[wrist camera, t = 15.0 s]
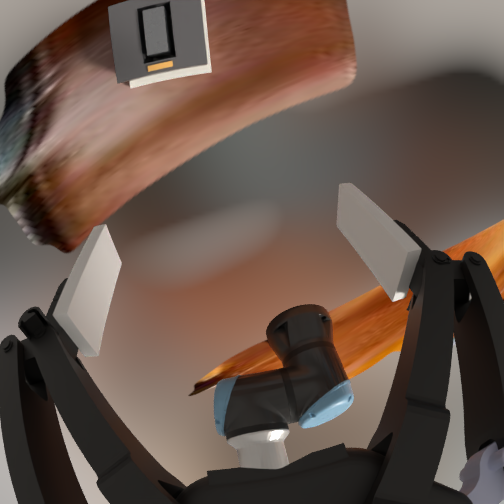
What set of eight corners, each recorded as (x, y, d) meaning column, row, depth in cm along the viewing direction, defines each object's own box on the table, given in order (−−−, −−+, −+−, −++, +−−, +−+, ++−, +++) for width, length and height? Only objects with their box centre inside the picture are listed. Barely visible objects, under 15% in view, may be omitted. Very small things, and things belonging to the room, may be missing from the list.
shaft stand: (211, 72, 29) (214, 72, 22) (133, 87, 29) (112, 94, 21) (203, -4, 23) (205, -26, 15) (123, 13, 22) (100, -2, 14)
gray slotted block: (199, 1, 22) (199, -16, 16) (206, 65, 28) (207, 63, 22) (124, 17, 21) (107, 6, 16) (132, 80, 27) (116, 83, 21)
